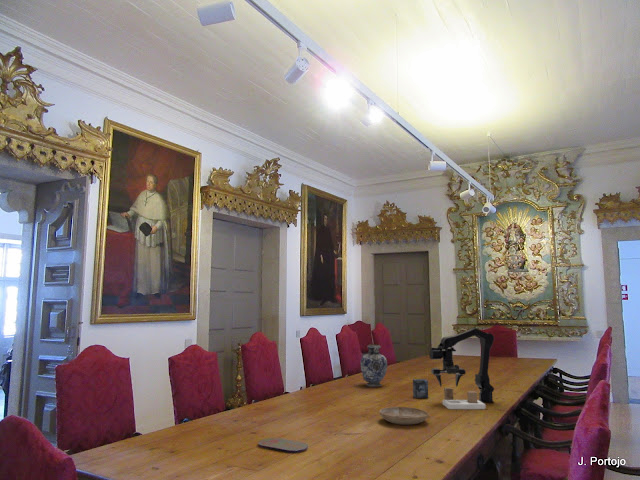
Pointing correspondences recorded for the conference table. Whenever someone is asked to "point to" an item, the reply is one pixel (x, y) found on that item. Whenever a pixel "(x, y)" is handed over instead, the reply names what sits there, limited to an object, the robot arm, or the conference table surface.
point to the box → (420, 388)
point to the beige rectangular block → (448, 393)
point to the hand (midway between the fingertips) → (448, 386)
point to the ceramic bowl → (404, 415)
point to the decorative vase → (373, 366)
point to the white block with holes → (465, 402)
